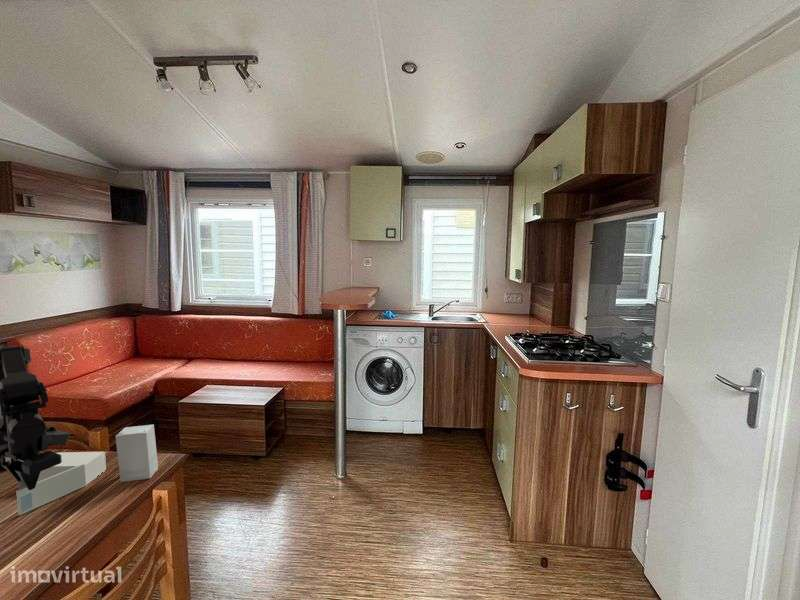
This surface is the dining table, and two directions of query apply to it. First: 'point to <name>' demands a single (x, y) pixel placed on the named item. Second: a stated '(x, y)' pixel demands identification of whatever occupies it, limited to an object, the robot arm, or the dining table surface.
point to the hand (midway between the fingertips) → (28, 487)
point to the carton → (92, 461)
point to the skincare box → (136, 453)
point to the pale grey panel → (50, 489)
